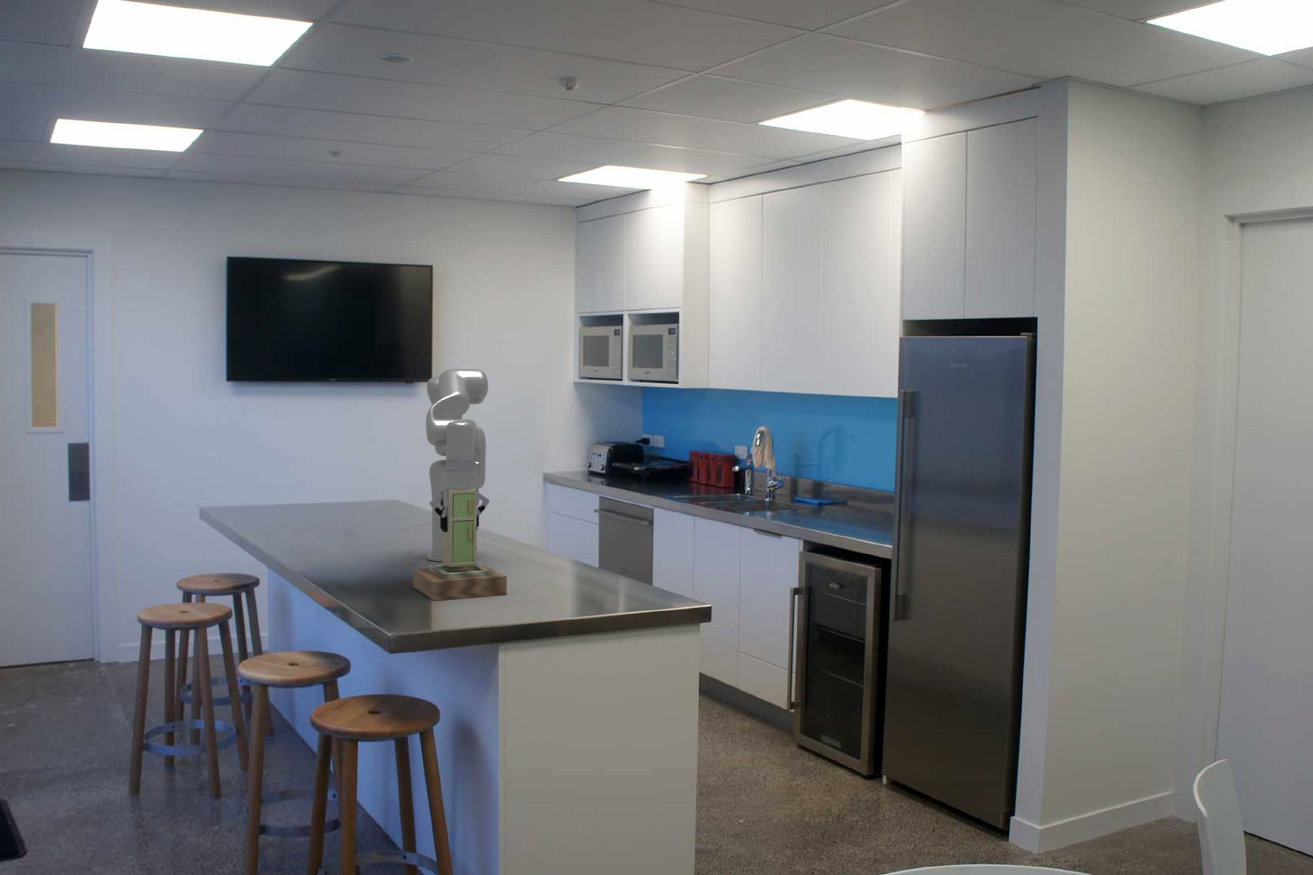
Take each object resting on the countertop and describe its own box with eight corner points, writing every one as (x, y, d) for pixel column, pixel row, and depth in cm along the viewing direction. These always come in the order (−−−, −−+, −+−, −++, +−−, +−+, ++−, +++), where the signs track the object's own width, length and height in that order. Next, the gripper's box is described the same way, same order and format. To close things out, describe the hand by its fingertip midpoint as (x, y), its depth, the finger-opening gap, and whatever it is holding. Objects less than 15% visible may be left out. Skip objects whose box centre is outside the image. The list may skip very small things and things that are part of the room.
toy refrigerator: (449, 567, 301) (449, 490, 300) (441, 563, 308) (441, 487, 306) (477, 565, 305) (478, 489, 303) (469, 561, 311) (469, 486, 310)
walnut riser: (482, 581, 320) (482, 559, 319) (506, 594, 302) (506, 571, 302) (413, 586, 311) (413, 564, 310) (434, 600, 293) (434, 577, 292)
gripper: (485, 464, 312) (485, 526, 313) (424, 466, 303) (424, 530, 305) (495, 467, 305) (494, 530, 306) (432, 468, 297) (432, 534, 298)
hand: (459, 530), depth 305 cm, fingers closed on toy refrigerator, 7 cm apart
